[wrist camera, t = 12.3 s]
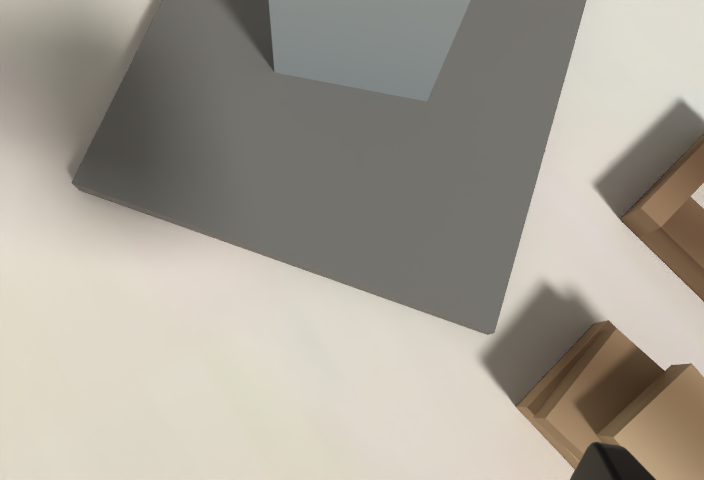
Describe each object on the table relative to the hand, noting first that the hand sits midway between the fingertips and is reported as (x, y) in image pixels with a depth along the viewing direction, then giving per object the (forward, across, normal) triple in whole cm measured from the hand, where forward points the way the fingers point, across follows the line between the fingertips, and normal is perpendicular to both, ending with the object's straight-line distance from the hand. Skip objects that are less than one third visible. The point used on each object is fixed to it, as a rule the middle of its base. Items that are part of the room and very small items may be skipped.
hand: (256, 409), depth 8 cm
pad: (+19, 0, +1) cm, 19 cm away
